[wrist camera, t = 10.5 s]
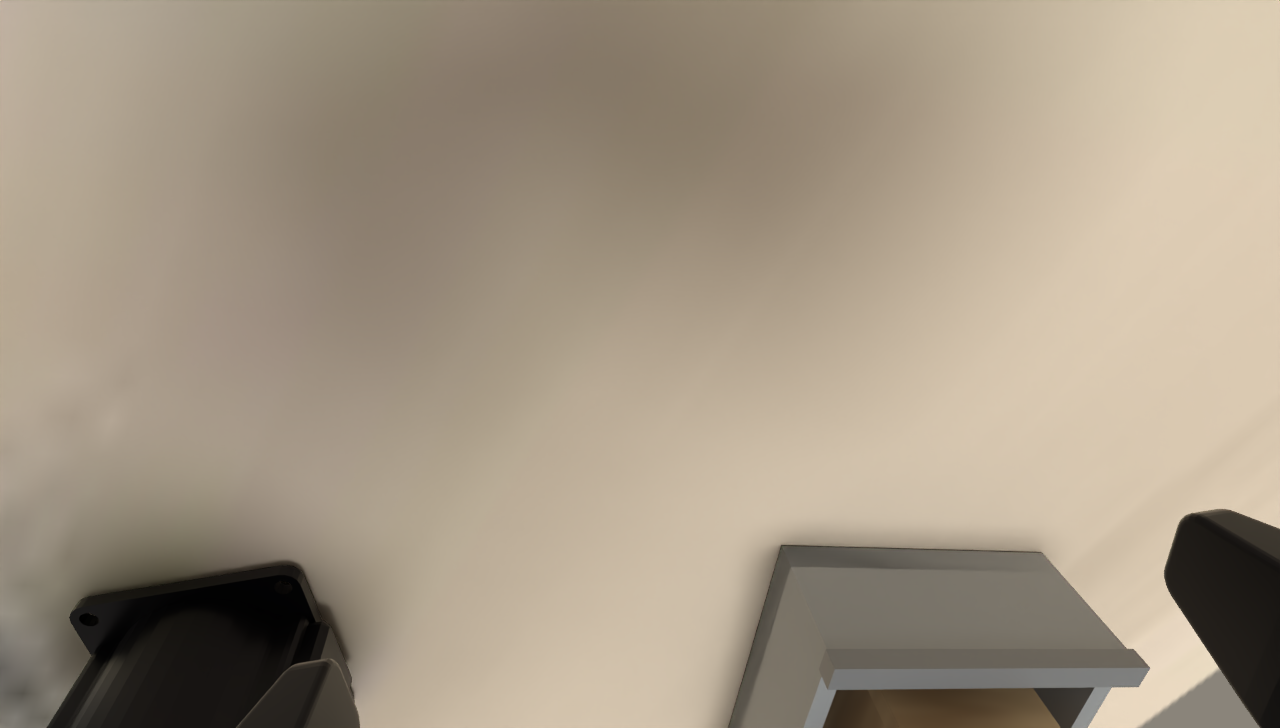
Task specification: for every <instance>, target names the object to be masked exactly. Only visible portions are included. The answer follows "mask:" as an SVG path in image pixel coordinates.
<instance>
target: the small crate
mask: <svg viewBox="0 0 1280 728" xmlns="http://www.w3.org/2000/svg"><path fill="white" fill-rule="evenodd" d="M823 728H1061V727H1060V726H1059V724H1058V723H1057V721H1056V720H1055V719H1054V717H1053V716H1052V714H1051V713H1050V712H1049V710H1048V709H1047V707H1046V706H1045V704H1044V703H1043V702H1042V700H1041V699H1040V697H1039V696H1038V694H1037V693H1036V692H1035V690H1034V689H1033V688H985V689H882V690H836V693H835V695H834V698H833V701H832V704H831V706H830V709H829V712H828V714H827V717H826V720H825V722H824V725H823Z"/></svg>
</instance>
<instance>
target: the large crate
mask: <svg viewBox="0 0 1280 728" xmlns="http://www.w3.org/2000/svg"><path fill="white" fill-rule="evenodd" d="M1149 669H1150V667H1149V666H1148V665H1147V664H1146V663H1145V661H1144V660H1143V659H1142V658H1141V657H1140V656H1139V655H1138V654H1137V652H1136V651H1135V650H1134V649H1127V648H1126V647H1125V646H1124V645H1123V644H1122V643H1121V642H1120V640H1119V639H1118V638H1117V637H1116V636H1115V635H1114V634H1113V632H1112V631H1111V630H1110V629H1109V628H1108V627H1107V626H1106V625H1105V623H1104V622H1103V621H1102V620H1101V619H1100V618H1099V617H1098V615H1097V614H1096V613H1095V612H1094V611H1093V610H1092V609H1091V608H1090V606H1089V605H1088V604H1087V603H1086V602H1085V601H1084V600H1083V598H1082V597H1081V596H1080V595H1079V594H1078V593H1077V592H1076V591H1075V589H1074V588H1073V587H1072V586H1071V585H1070V584H1069V583H1068V581H1067V580H1066V579H1065V578H1064V577H1063V576H1062V575H1061V574H1060V572H1059V571H1058V570H1057V569H1056V568H1055V567H1054V566H1053V564H1052V563H1051V562H1050V561H1049V560H1048V559H1047V558H1046V557H1045V555H1044V554H1043V553H1031V552H995V551H958V550H921V549H885V548H848V547H811V546H781V549H780V553H779V556H778V560H777V563H776V567H775V570H774V573H773V577H772V580H771V584H770V587H769V591H768V594H767V598H766V601H765V604H764V608H763V611H762V615H761V618H760V622H759V625H758V628H757V632H756V635H755V639H754V642H753V646H752V649H751V652H750V656H749V659H748V663H747V666H746V670H745V673H744V677H743V680H742V683H741V687H740V690H739V694H738V697H737V701H736V704H735V707H734V711H733V714H732V718H731V721H730V725H729V728H823V725H824V722H825V720H826V717H827V714H828V712H829V709H830V706H831V704H832V701H833V698H834V695H835V693H836V690H882V689H985V688H1033V689H1034V690H1035V692H1036V693H1037V694H1038V696H1039V697H1040V699H1041V700H1042V702H1043V703H1044V704H1045V706H1046V707H1047V709H1048V710H1049V712H1050V713H1051V714H1052V716H1053V717H1054V719H1055V720H1056V721H1057V723H1058V724H1059V726H1060V727H1061V728H1088V726H1089V724H1090V723H1091V721H1092V719H1093V718H1094V716H1095V714H1096V713H1097V711H1098V709H1099V708H1100V706H1101V704H1102V703H1103V701H1104V699H1105V698H1106V696H1107V694H1108V693H1109V691H1110V689H1111V688H1112V687H1139V685H1140V684H1141V682H1142V681H1143V679H1144V677H1145V676H1146V674H1147V672H1148V671H1149Z"/></svg>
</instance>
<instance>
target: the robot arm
mask: <svg viewBox="0 0 1280 728" xmlns="http://www.w3.org/2000/svg"><path fill="white" fill-rule="evenodd" d="M1164 578H1165V582H1166V585H1167V588H1168V590H1169V592H1170V594H1171V596H1172V597H1173V599H1174V600H1175V602H1176V603H1177V605H1178V606H1179V608H1180V609H1181V611H1182V612H1183V614H1184V615H1185V617H1186V618H1187V620H1188V621H1189V623H1190V624H1191V626H1192V628H1193V629H1194V631H1195V632H1196V634H1197V635H1198V637H1199V638H1200V640H1201V641H1202V643H1203V644H1204V646H1205V647H1206V649H1207V650H1208V652H1209V653H1210V655H1211V656H1212V658H1213V659H1214V661H1215V662H1216V664H1217V665H1218V667H1219V668H1220V670H1221V671H1222V673H1223V674H1224V676H1225V677H1226V679H1227V680H1228V682H1229V683H1230V685H1231V686H1232V688H1233V689H1234V690H1235V692H1236V694H1237V695H1238V696H1239V698H1240V699H1241V701H1242V703H1243V704H1244V706H1245V707H1246V708H1247V710H1248V711H1249V712H1250V714H1251V716H1252V717H1253V719H1254V720H1255V721H1256V723H1257V724H1258V725H1259V727H1260V728H1280V529H1279V528H1276V527H1273V526H1271V525H1268V524H1266V523H1263V522H1260V521H1258V520H1255V519H1252V518H1250V517H1247V516H1245V515H1242V514H1239V513H1237V512H1234V511H1231V510H1226V509H1215V510H1209V511H1203V512H1197V513H1191V514H1188V515H1186V516H1185V517H1184V518H1183V519H1181V521H1180V522H1179V525H1178V527H1177V530H1176V534H1175V537H1174V540H1173V543H1172V546H1171V550H1170V553H1169V556H1168V559H1167V562H1166V566H1165V570H1164ZM280 581H286V582H288V583H290V585H286V584H283V583H281V582H280ZM89 613H91V614H93V615H91V614H89ZM94 615H95V616H94ZM69 618H70V621H71V624H72V625H73V627H74V628H75V630H76V632H77V633H78V635H79V636H80V638H81V640H82V641H83V643H84V644H85V646H86V648H87V649H88V651H89V652H90V654H91V658H90V660H89V661H88V663H87V664H86V666H85V668H84V669H83V671H82V672H81V674H80V676H79V677H78V679H77V680H76V682H75V684H74V685H73V687H72V688H71V690H70V691H69V693H68V695H67V696H66V698H65V699H64V701H63V703H62V704H61V706H60V707H59V709H58V711H57V712H56V714H55V715H54V717H53V719H52V720H51V722H50V723H49V725H48V726H47V728H360V722H359V715H358V711H357V708H356V706H355V701H354V697H353V694H352V692H351V689H350V686H351V682H352V677H351V675H350V672H349V670H348V667H347V665H346V662H345V660H344V657H343V655H342V652H341V650H340V647H339V645H338V642H337V640H336V637H335V635H334V632H333V630H332V627H331V626H330V625H329V624H327V623H326V622H325V621H322V618H321V616H320V613H319V611H318V608H317V606H316V603H315V601H314V598H313V596H312V594H311V591H310V589H309V586H308V584H307V581H306V579H305V576H304V575H303V573H302V572H301V571H300V570H299V569H297V568H296V567H292V566H289V565H287V566H276V567H270V568H264V569H258V570H251V571H245V572H239V573H233V574H227V575H221V576H214V577H208V578H202V579H196V580H190V581H184V582H178V583H171V584H165V585H159V586H153V587H147V588H141V589H134V590H128V591H122V592H116V593H110V594H104V595H98V596H91V597H87V598H84V599H82V600H80V601H79V602H78V603H77V605H76V606H75V608H74V609H73V611H72V612H71V614H70V617H69Z"/></svg>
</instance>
